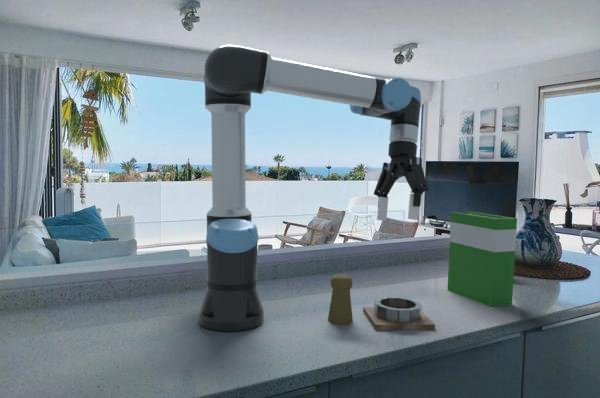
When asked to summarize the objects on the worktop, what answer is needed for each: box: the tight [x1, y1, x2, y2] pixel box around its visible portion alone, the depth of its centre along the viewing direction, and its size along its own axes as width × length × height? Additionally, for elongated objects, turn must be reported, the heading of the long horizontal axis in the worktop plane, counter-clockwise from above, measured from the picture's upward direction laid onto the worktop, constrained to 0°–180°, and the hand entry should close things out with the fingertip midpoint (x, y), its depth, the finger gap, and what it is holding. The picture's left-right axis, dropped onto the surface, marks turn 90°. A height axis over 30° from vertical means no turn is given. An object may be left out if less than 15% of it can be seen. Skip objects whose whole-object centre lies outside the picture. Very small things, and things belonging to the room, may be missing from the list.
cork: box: [327, 274, 354, 326], centre depth 111 cm, size 6×6×11 cm
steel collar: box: [373, 296, 423, 323], centre depth 112 cm, size 11×11×3 cm
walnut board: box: [362, 306, 436, 331], centre depth 112 cm, size 14×13×1 cm
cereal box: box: [447, 211, 518, 308], centre depth 134 cm, size 18×7×24 cm, turn 23°
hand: (396, 220), depth 124 cm, fingers open, 13 cm apart
